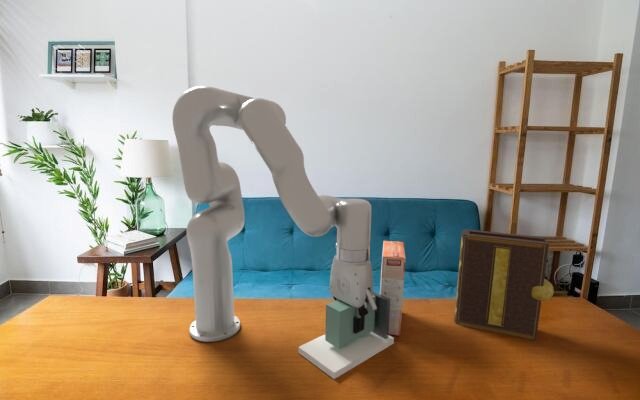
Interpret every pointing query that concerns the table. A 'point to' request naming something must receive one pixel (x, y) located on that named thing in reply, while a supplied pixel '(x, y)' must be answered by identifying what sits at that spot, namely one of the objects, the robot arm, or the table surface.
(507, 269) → the book
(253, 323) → the table surface
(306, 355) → the shelf board
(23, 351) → the table surface
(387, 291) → the cracker box
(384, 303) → the bookend
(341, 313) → the book block
